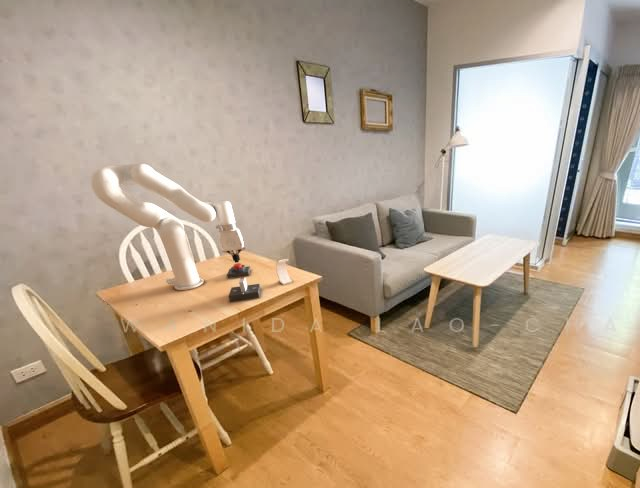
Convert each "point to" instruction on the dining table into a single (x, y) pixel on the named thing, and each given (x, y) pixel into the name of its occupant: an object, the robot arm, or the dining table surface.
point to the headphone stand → (282, 272)
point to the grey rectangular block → (243, 284)
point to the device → (244, 293)
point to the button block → (238, 272)
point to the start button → (237, 266)
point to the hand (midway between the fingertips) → (237, 261)
